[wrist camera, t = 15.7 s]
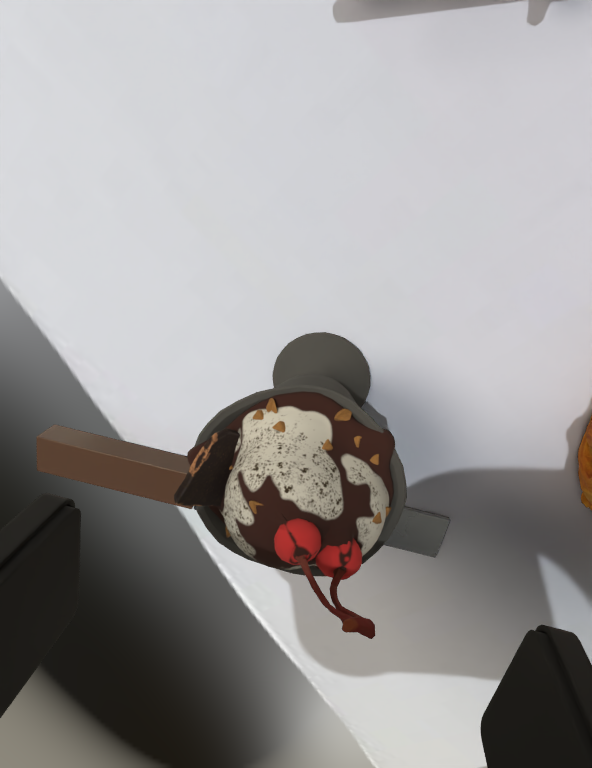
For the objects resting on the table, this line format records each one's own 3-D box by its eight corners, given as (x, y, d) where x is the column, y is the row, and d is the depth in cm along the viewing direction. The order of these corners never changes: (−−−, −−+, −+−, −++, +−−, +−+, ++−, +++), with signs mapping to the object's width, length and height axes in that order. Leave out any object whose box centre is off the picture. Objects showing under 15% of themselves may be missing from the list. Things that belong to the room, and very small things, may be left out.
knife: (449, 515, 25) (455, 534, 24) (434, 555, 26) (438, 576, 25) (54, 419, 26) (36, 431, 25) (54, 461, 27) (36, 475, 26)
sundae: (411, 405, 23) (488, 690, 9) (297, 456, 25) (218, 757, 11) (350, 289, 22) (333, 423, 8) (233, 353, 24) (49, 554, 10)
